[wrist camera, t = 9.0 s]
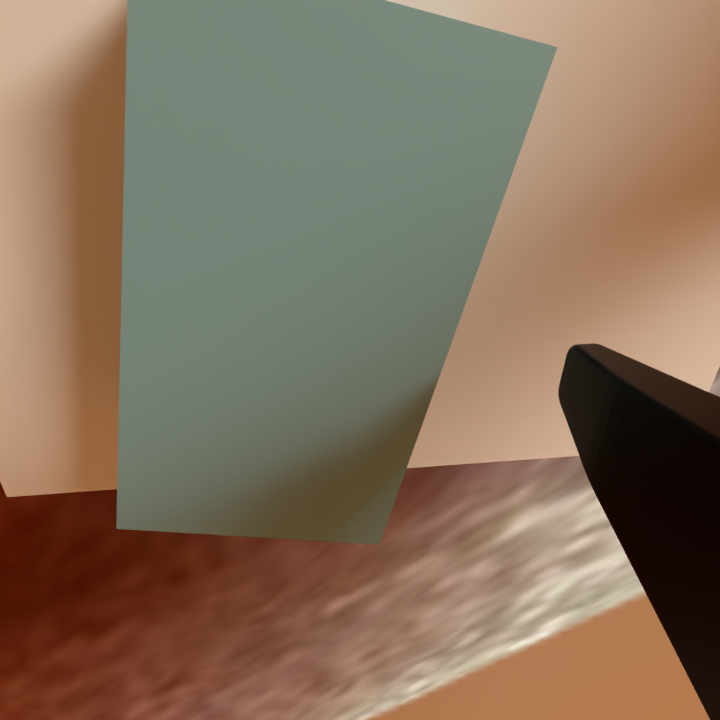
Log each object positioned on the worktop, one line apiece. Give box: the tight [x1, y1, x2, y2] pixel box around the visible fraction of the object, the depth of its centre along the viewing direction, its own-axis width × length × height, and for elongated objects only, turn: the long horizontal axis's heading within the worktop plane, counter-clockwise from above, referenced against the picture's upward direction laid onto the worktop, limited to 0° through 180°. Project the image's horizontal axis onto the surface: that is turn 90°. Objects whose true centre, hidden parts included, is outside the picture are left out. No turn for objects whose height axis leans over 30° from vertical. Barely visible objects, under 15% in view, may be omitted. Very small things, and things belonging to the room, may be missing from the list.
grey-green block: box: [116, 0, 557, 545], centre depth 12 cm, size 10×6×4 cm, turn 167°
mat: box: [0, 0, 720, 497], centre depth 14 cm, size 20×14×1 cm
